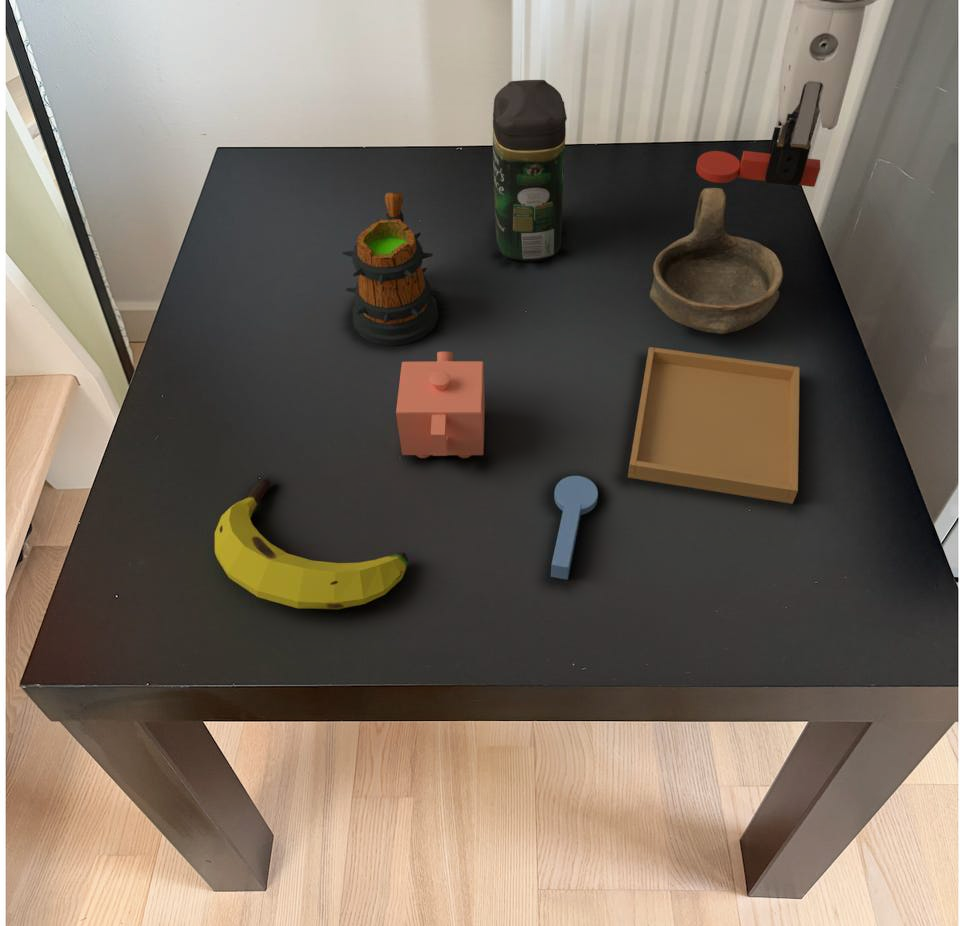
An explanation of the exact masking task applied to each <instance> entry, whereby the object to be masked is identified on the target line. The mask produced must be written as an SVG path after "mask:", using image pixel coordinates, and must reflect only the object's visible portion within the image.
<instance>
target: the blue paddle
mask: <svg viewBox="0 0 960 926" xmlns="http://www.w3.org/2000/svg"><path fill="white" fill-rule="evenodd" d="M553 495H554V496H553V497H554V502H555V504H556V505H555V506H557V508H558V509H559V510H561V512H562V514H561V519H560V523H559V528H558V533H557V536H556V542H555V546H554V552H553V555H552V561H551V568H550V577H551V578H556V579H560V580H565V581H566V580H569V575H570V570H571V565H572V560H573V555H574V550H575V545H576V540H577V535H578V530H579V525H580V521H581V516H582V515H585V514H588V513H590V512H592V510H594V508H595V507H596V505H598V504H597V503H598V498H599V491H598V488H597V486H596V484H595V483H594V482H593V481H592V480H591V479H589V478H588V477H585V476H582V475H570V476H566V477H564V478H562V479H561V480H560V481H559V482H557V484H556V486H555V488H554V494H553Z"/></svg>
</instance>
